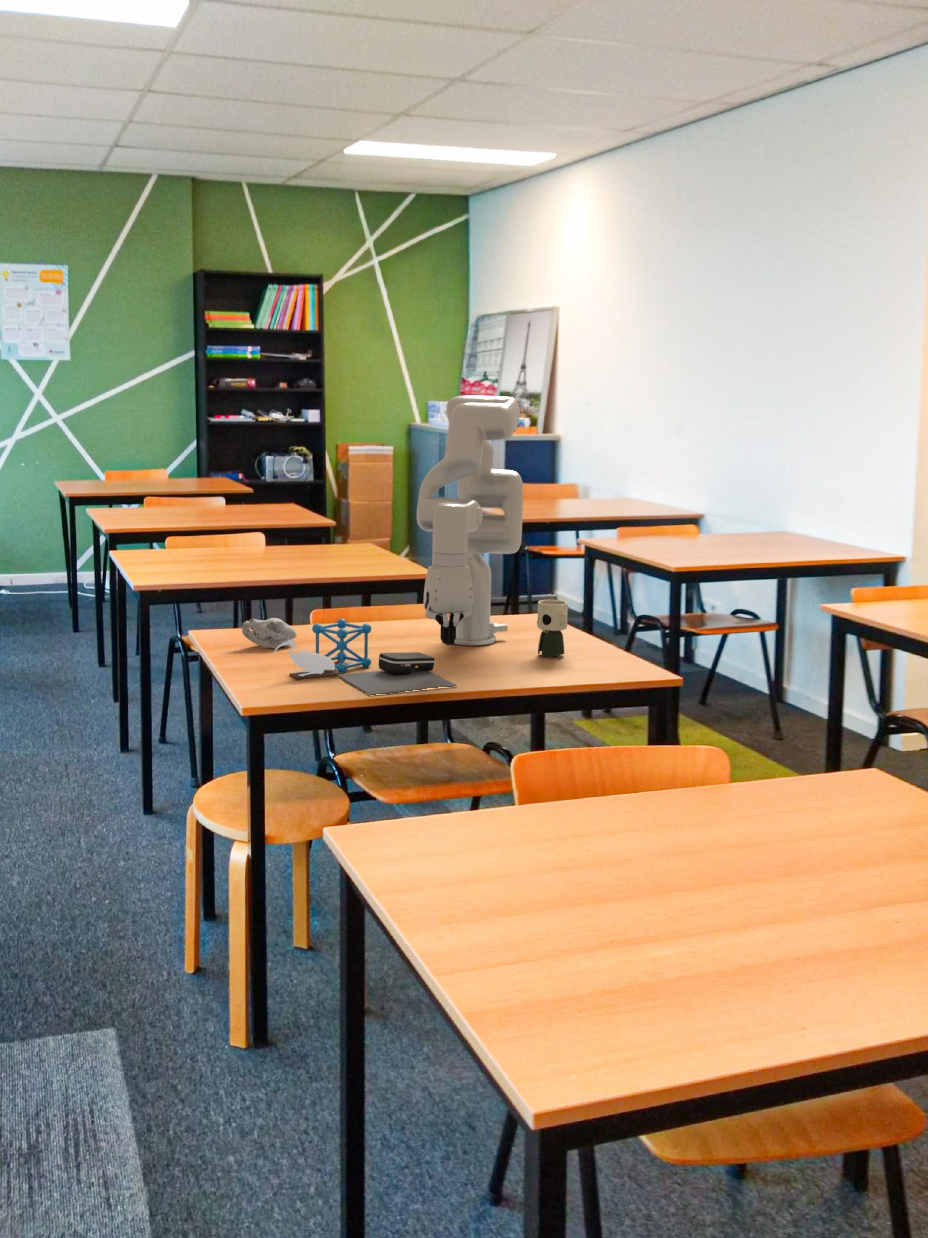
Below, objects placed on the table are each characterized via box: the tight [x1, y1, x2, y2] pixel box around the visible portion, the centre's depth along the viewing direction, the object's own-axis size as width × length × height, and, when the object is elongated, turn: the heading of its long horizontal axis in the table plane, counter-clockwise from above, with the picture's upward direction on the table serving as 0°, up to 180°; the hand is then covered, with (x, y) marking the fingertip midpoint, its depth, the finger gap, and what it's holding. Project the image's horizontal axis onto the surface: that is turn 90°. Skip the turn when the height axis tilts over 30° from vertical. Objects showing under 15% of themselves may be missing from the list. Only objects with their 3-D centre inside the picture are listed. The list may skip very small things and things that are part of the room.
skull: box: [241, 617, 298, 650], centre depth 298 cm, size 8×9×12 cm
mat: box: [337, 666, 458, 696], centre depth 268 cm, size 20×18×1 cm
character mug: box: [536, 599, 569, 658], centre depth 295 cm, size 11×7×13 cm, turn 32°
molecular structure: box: [311, 618, 372, 674], centre depth 280 cm, size 10×10×10 cm
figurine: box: [273, 639, 340, 681], centre depth 270 cm, size 14×4×9 cm, turn 117°
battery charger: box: [378, 651, 436, 674], centre depth 276 cm, size 7×4×11 cm
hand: (448, 643), depth 273 cm, fingers closed
